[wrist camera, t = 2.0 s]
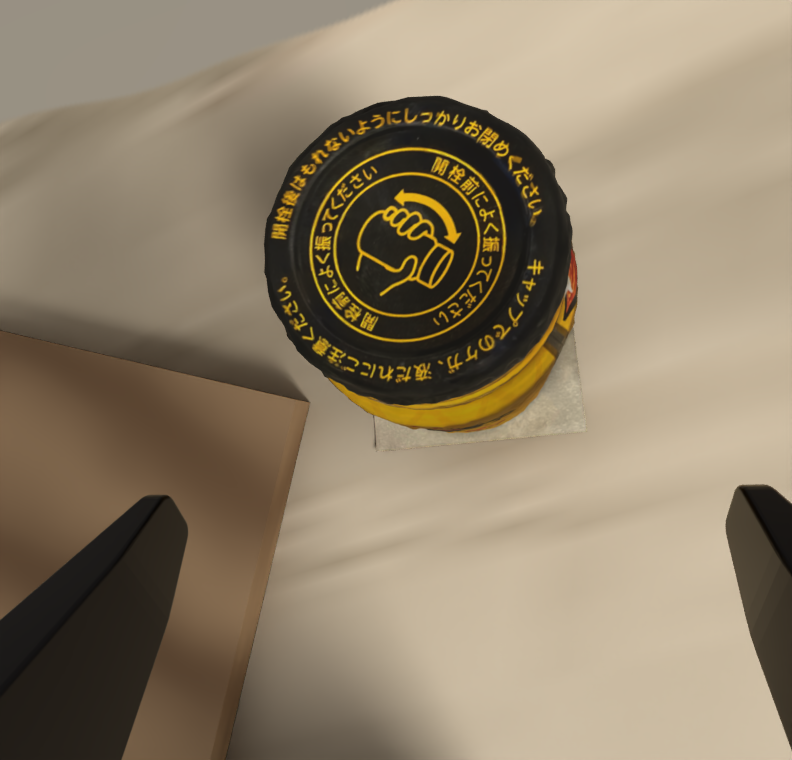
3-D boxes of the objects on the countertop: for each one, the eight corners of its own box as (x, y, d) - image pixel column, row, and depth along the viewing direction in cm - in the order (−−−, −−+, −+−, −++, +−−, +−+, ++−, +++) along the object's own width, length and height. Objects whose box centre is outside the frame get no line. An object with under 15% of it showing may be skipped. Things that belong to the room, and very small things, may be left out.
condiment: (378, 451, 22) (219, 467, 10) (357, 227, 22) (191, -5, 11) (586, 432, 20) (693, 422, 8) (555, 194, 21) (612, -109, 9)
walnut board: (192, 898, 21) (168, 932, 20) (-156, 747, 24) (-198, 767, 23) (309, 402, 22) (295, 400, 21) (-40, 321, 25) (-74, 314, 24)
